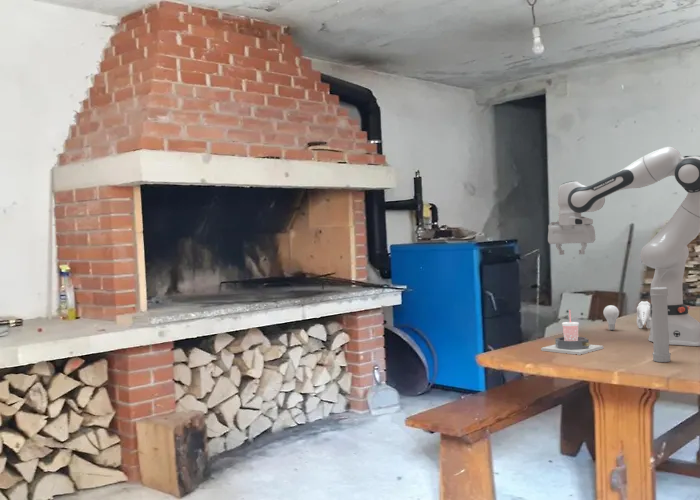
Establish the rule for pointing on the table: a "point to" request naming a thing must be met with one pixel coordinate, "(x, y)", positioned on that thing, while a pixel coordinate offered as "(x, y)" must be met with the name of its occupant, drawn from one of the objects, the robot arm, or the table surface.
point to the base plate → (575, 351)
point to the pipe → (660, 324)
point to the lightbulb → (611, 316)
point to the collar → (572, 343)
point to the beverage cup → (570, 330)
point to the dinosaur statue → (643, 314)
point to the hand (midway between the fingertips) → (571, 254)
